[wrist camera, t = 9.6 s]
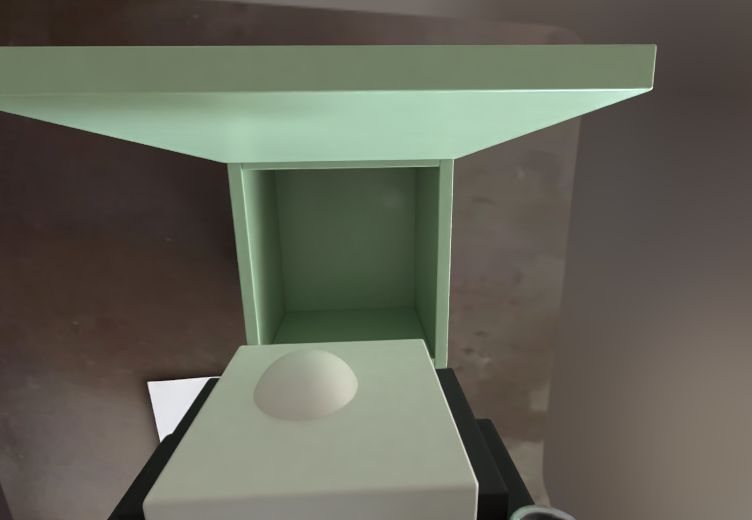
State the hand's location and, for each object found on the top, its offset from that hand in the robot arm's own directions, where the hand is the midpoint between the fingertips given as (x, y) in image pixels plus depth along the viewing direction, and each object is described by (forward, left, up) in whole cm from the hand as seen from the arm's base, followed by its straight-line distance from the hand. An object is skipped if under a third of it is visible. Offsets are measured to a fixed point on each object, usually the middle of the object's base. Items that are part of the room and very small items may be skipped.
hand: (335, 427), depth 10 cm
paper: (+20, -6, -24) cm, 31 cm away
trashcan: (0, 0, -24) cm, 24 cm away
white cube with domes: (0, 0, 0) cm, 0 cm away
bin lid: (-7, 0, -6) cm, 9 cm away
